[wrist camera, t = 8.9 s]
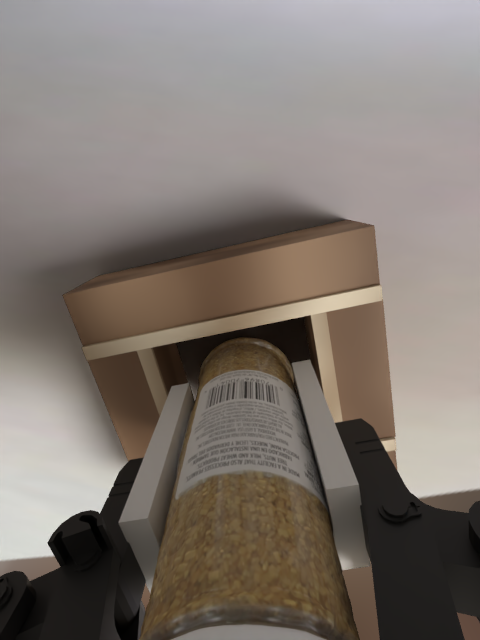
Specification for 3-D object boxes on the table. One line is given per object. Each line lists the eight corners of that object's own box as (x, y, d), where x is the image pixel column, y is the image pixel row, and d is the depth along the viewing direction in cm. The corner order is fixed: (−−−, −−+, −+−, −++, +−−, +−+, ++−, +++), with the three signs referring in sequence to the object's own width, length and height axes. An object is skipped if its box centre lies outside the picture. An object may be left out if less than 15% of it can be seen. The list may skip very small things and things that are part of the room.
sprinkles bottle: (192, 406, 17) (49, 965, 5) (210, 323, 16) (71, 816, 3) (280, 425, 18) (367, 998, 5) (306, 344, 16) (522, 877, 4)
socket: (168, 472, 21) (153, 526, 17) (97, 276, 17) (58, 296, 13) (374, 436, 20) (401, 487, 16) (348, 219, 16) (377, 225, 12)
